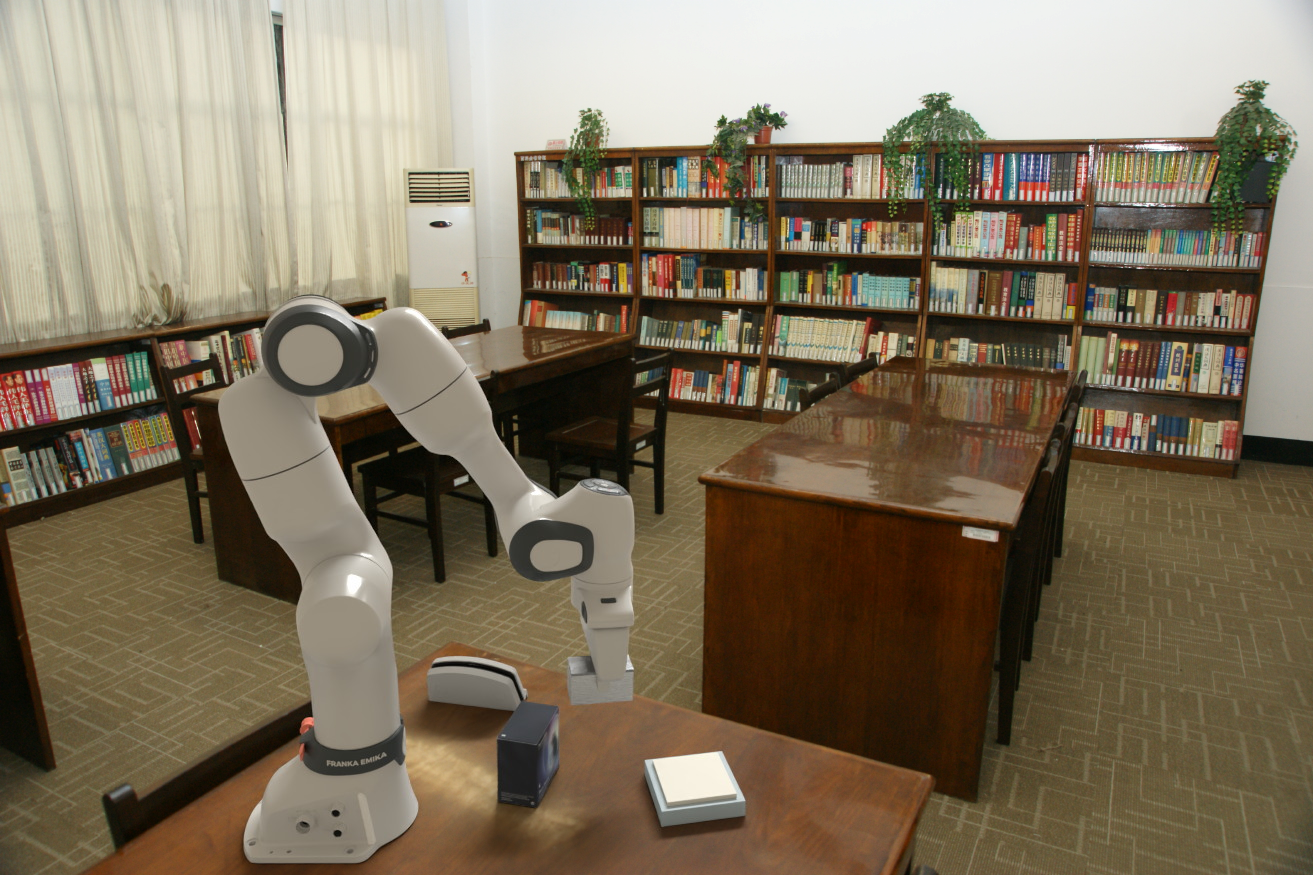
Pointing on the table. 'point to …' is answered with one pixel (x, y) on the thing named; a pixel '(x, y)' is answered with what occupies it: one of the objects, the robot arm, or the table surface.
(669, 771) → the stand
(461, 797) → the table surface
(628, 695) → the block
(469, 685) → the white slotted block
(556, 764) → the small box
